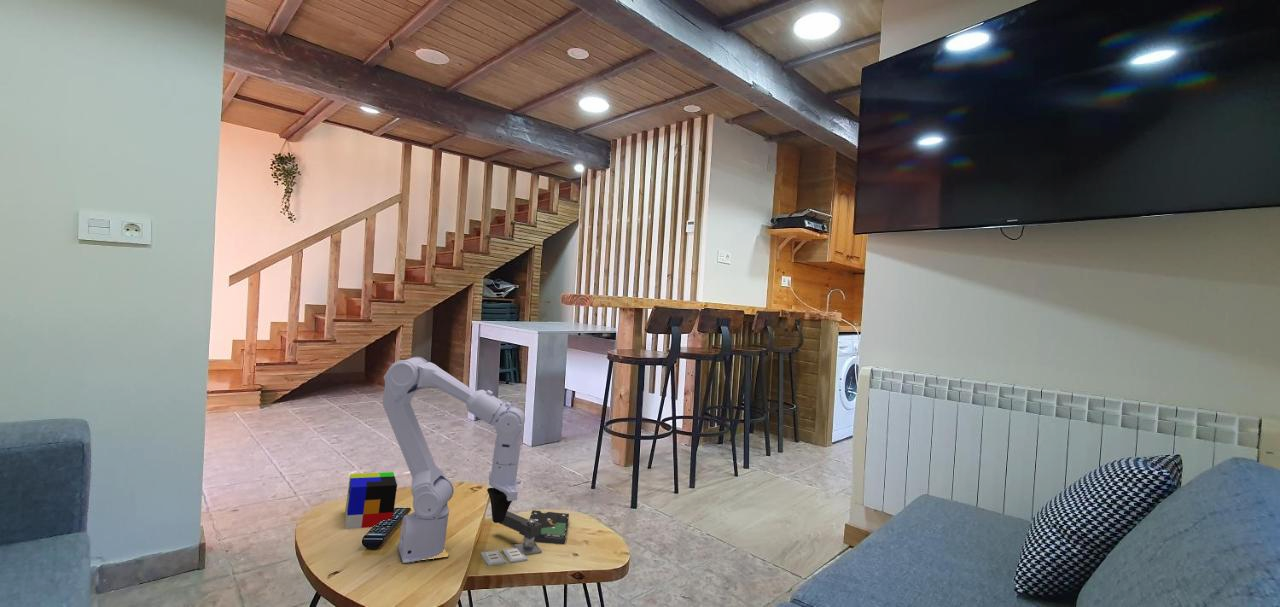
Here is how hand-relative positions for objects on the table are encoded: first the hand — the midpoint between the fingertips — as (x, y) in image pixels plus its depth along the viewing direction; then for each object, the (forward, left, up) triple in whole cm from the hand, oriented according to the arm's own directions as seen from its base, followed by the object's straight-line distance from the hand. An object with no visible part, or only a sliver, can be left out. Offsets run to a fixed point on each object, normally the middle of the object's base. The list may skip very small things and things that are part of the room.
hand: (497, 521), depth 119 cm
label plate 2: (+5, 0, -8) cm, 10 cm away
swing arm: (+7, +6, -5) cm, 10 cm away
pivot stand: (+9, +2, -8) cm, 12 cm away
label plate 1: (0, 0, -8) cm, 8 cm away
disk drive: (+18, +11, -9) cm, 23 cm away
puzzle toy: (-23, +29, -9) cm, 38 cm away
